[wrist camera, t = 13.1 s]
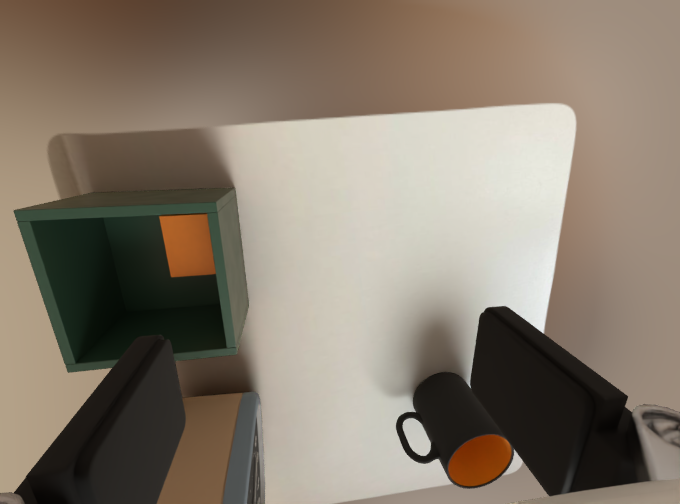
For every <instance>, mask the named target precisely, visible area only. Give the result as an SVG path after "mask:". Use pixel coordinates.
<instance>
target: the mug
mask: <svg viewBox="0 0 680 504" xmlns="http://www.w3.org/2000/svg"><path fill="white" fill-rule="evenodd" d="M413 405H414V409H415V411H416V412H407V413H404V414H402V415H401V416H399V418H398V420H397V423H396V430H397V433H398V436H399V438H400V441H401V444H402V446H403V448H404V450H405V452H406V454H407V455H408V456H409V457H410V458H411V459H413V460H414V461H416V462H418V463H423V464H426V463H430V462H432V461H433V460H435V459H439V460H440V462H441V464H442V466H443V468H444V470H445V472H446V474H447V476H448V478H449V480H450V481H451V482H452V483H453V484H455V485H457V486H459V487H462V488H469V489H470V488H478V487H482V486H485V485H487V484H490V483H492V482H493V481H495V480H497V479H498V478H499V477H501V476H502V475H503V474H504V473H505V472H506V470H507V469H508V468H509V466H510V464H511V462H512V460H513V456H514V448H513V447H512V445H511V444H510V443H509V441H508V440H507V439H506V437H505V436H504V435H503V433H502V432H501V430H500V429H499V428H498V426H497V425H496V424H495V422H494V421H493V420H492V418H491V417H490V416H489V414H488V413H487V412H486V410H485V409H484V407H483V406H482V405H481V403H480V402H479V401H478V399H477V398H476V397H475V395H474V394H473V392H472V390H471V388H470V387H469V386H468V384H467V383H466V382H465V381H464V379H463V378H462V377H460V376H459V375H457V374H454V373H447V372H444V373H438V374H435V375H433V376H430V377H429V378H427V379H426V380H424V381H423V382H422V383H421V384H420V385H419V387H418V388H417V390H416V392H415V394H414V398H413ZM408 418H414V419H416V420H418V421H419V422H420V423H421V424H422V425H423V427H424V429H425V431H426V433H427V436H428V438H429V440H430V442H431V450H430V452H429V453H428V454H427V455H426V456H420V455H418V454H416V453H415V452H414V451H413V450H412V449H411V448H410V446H409V443H408V441H407V439H406V436H405V434H404V431H403V428H402V425H403V422H404V420H406V419H408Z"/></svg>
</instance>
